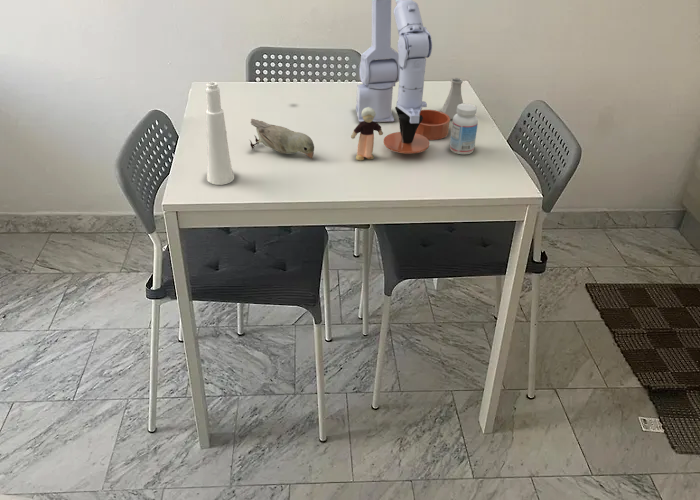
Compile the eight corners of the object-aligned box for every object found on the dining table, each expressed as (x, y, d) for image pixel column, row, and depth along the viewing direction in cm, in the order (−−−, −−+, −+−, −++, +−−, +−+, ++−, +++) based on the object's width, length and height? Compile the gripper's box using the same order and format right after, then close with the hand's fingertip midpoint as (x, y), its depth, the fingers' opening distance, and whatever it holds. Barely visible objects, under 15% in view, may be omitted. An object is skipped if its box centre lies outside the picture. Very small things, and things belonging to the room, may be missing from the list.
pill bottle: (475, 146, 166) (482, 104, 160) (471, 157, 161) (477, 113, 155) (451, 142, 168) (457, 100, 161) (446, 152, 163) (452, 109, 156)
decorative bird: (309, 163, 156) (309, 134, 152) (247, 152, 160) (245, 123, 155) (317, 154, 160) (317, 125, 156) (256, 143, 164) (255, 114, 160)
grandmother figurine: (356, 163, 157) (358, 113, 149) (348, 156, 159) (350, 106, 152) (384, 157, 160) (387, 107, 152) (376, 151, 162) (379, 101, 155)
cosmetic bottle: (237, 182, 147) (229, 87, 135) (209, 186, 145) (199, 90, 133) (231, 170, 152) (223, 77, 139) (204, 174, 150) (194, 79, 137)
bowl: (412, 140, 168) (414, 125, 166) (405, 123, 176) (407, 109, 174) (452, 139, 169) (454, 125, 167) (443, 123, 177) (445, 109, 175)
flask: (467, 121, 179) (472, 85, 173) (440, 120, 179) (444, 84, 173) (464, 110, 185) (468, 75, 179) (438, 109, 185) (441, 74, 179)
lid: (386, 156, 157) (388, 138, 154) (380, 136, 166) (381, 118, 163) (433, 155, 158) (435, 137, 155) (424, 135, 167) (426, 117, 165)
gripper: (434, 96, 148) (428, 152, 156) (422, 73, 160) (417, 126, 167) (403, 97, 147) (399, 152, 155) (393, 74, 159) (389, 126, 167)
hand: (406, 139), depth 161 cm, fingers closed on lid, 2 cm apart
